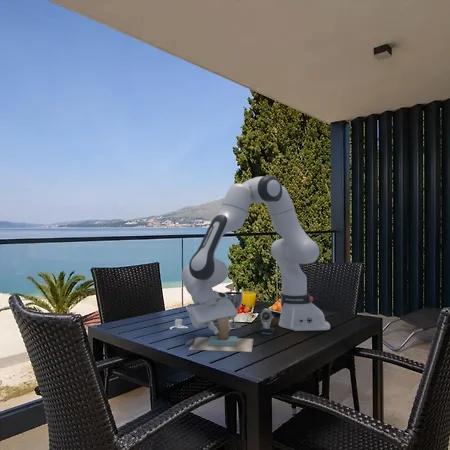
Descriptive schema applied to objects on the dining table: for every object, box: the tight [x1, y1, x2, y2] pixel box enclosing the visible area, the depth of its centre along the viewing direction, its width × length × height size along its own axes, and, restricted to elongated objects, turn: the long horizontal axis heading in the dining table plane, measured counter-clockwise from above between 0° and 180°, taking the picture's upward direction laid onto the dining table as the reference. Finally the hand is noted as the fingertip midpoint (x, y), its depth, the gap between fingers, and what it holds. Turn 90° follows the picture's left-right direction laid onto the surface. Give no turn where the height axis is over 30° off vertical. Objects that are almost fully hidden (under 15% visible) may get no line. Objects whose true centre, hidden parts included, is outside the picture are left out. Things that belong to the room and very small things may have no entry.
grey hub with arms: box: [169, 318, 189, 330], centre depth 166 cm, size 9×8×4 cm
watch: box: [259, 308, 275, 335], centre depth 154 cm, size 6×8×11 cm
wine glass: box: [224, 290, 243, 330], centre depth 169 cm, size 8×8×15 cm
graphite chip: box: [184, 338, 196, 347], centre depth 140 cm, size 4×5×1 cm
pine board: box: [188, 336, 254, 353], centre depth 139 cm, size 22×15×2 cm
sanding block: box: [209, 318, 238, 347], centre depth 139 cm, size 10×6×9 cm, turn 85°
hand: (223, 331), depth 139 cm, fingers closed on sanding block, 4 cm apart
